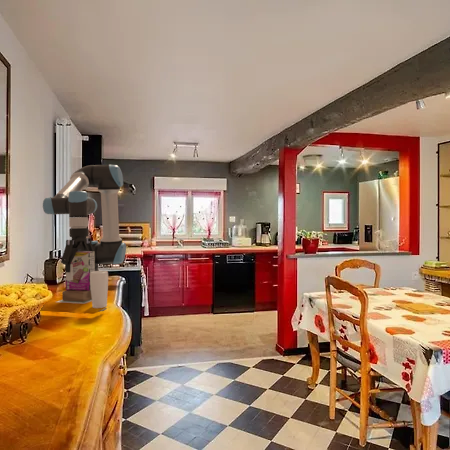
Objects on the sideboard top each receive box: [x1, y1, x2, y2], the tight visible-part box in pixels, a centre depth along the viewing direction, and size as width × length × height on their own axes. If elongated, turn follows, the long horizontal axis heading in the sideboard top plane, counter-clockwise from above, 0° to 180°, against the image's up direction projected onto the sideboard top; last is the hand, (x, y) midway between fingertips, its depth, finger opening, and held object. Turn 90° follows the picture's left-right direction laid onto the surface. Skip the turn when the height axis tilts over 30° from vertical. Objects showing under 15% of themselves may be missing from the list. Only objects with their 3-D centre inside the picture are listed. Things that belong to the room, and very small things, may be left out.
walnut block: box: [61, 289, 92, 302], centre depth 164 cm, size 10×10×4 cm
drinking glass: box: [90, 270, 109, 312], centre depth 150 cm, size 7×7×15 cm
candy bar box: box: [65, 251, 95, 291], centre depth 164 cm, size 11×5×16 cm, turn 83°
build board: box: [56, 299, 92, 305], centre depth 164 cm, size 14×14×2 cm
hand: (79, 277), depth 164 cm, fingers open, 13 cm apart
